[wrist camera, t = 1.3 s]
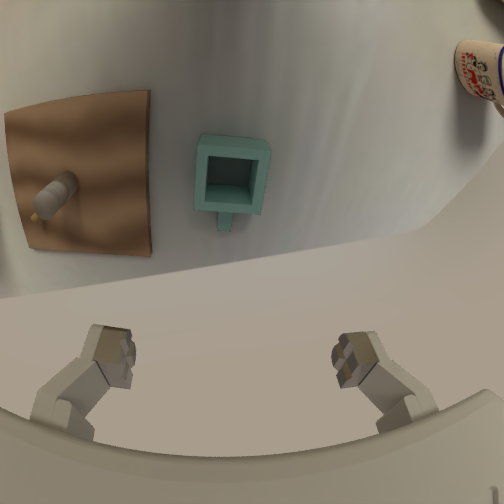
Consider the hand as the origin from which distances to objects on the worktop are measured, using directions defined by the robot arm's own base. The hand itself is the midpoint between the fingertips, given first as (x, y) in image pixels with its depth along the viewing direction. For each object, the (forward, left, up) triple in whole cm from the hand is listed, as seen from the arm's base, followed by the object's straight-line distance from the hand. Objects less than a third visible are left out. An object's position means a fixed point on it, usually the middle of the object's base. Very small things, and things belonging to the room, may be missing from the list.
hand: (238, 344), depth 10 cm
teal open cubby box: (+3, 0, -23) cm, 23 cm away
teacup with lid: (-20, +31, -23) cm, 44 cm away
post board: (+3, -19, -23) cm, 29 cm away
